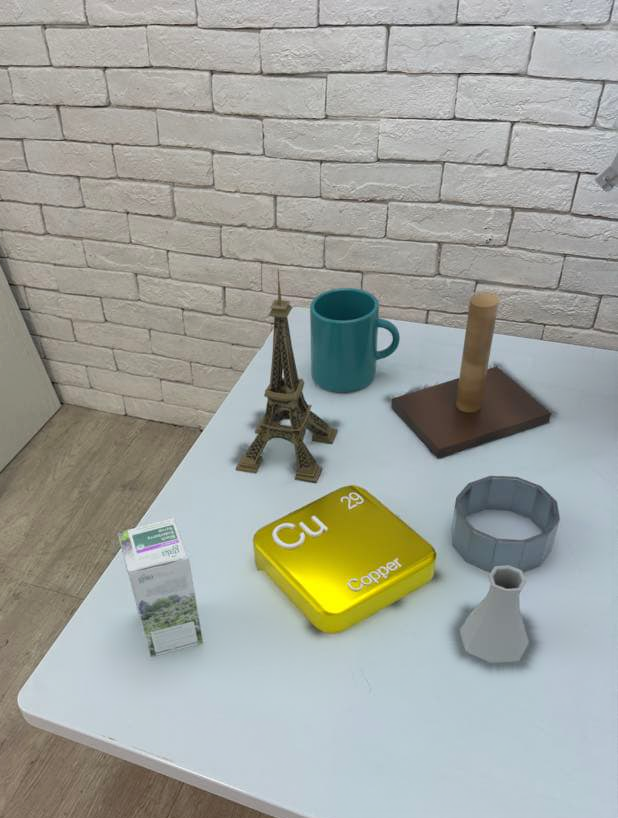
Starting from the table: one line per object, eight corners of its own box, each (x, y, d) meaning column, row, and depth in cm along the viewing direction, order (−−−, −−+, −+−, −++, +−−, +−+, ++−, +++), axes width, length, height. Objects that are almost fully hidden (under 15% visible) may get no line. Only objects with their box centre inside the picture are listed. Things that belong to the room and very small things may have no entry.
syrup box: (192, 610, 86) (173, 513, 76) (206, 652, 82) (188, 555, 72) (141, 624, 86) (115, 528, 75) (152, 667, 82) (126, 571, 71)
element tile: (327, 648, 81) (327, 618, 78) (248, 560, 91) (244, 531, 87) (441, 583, 85) (446, 552, 82) (354, 506, 95) (355, 475, 92)
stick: (472, 395, 105) (488, 290, 95) (486, 408, 103) (504, 302, 92) (451, 402, 105) (464, 297, 94) (464, 415, 103) (479, 309, 92)
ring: (511, 505, 92) (520, 465, 88) (567, 563, 85) (580, 523, 81) (433, 532, 91) (437, 493, 86) (483, 594, 84) (492, 555, 79)
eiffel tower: (235, 470, 102) (215, 289, 84) (261, 420, 109) (247, 243, 91) (316, 483, 99) (312, 297, 81) (337, 431, 105) (338, 249, 88)
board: (495, 375, 110) (496, 365, 109) (549, 422, 102) (551, 412, 101) (390, 407, 108) (391, 398, 107) (438, 458, 99) (439, 449, 98)
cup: (397, 395, 109) (402, 321, 102) (309, 394, 112) (307, 322, 104) (397, 358, 116) (402, 286, 108) (313, 358, 118) (312, 288, 110)
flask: (528, 681, 76) (549, 615, 69) (450, 667, 78) (461, 600, 71) (532, 623, 80) (551, 555, 73) (458, 610, 83) (469, 543, 75)
